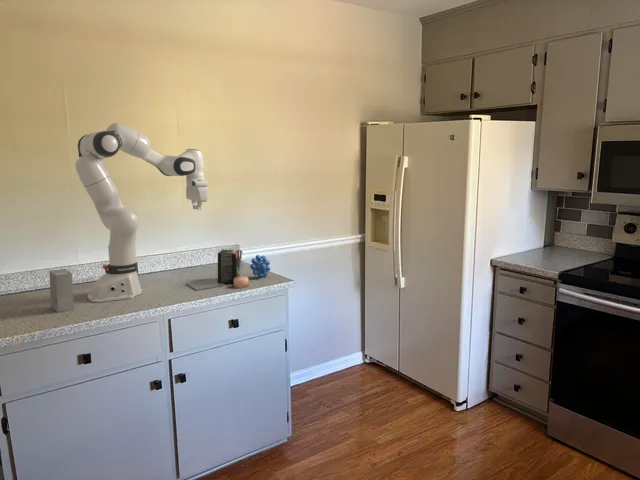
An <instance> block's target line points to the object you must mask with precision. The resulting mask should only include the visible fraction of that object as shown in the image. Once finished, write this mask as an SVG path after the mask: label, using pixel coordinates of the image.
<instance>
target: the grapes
mask: <svg viewBox="0 0 640 480" xmlns="http://www.w3.org/2000/svg"><path fill="white" fill-rule="evenodd" d="M270 264H271V262H270V260H269V259H267V257H266V256H265V255H260V254H256V256H255V257H253V258H251V264H250V266H249V267H250V269H251V270H252V274H253V275H254V276H257V277H258V278H260V279H261V278H263V277H267V276H268V274H269V272H270V270H271V267H270Z"/></svg>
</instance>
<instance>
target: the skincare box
mask: <svg viewBox="0 0 640 480" xmlns="http://www.w3.org/2000/svg"><path fill="white" fill-rule="evenodd" d="M48 272H49V287H50V288H49V290H50V291H49V292H50V308H51V309H52V310H53V311H54V312H57V313H61V312H62V313H63V312H66V311H72V310H74V309H75V308H74V292H73V291H74V290H73V286H74V285H73V273H72V271H70V270H69V269H66V268H62V269H61V268H60V269H53V270H49V271H48Z"/></svg>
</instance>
